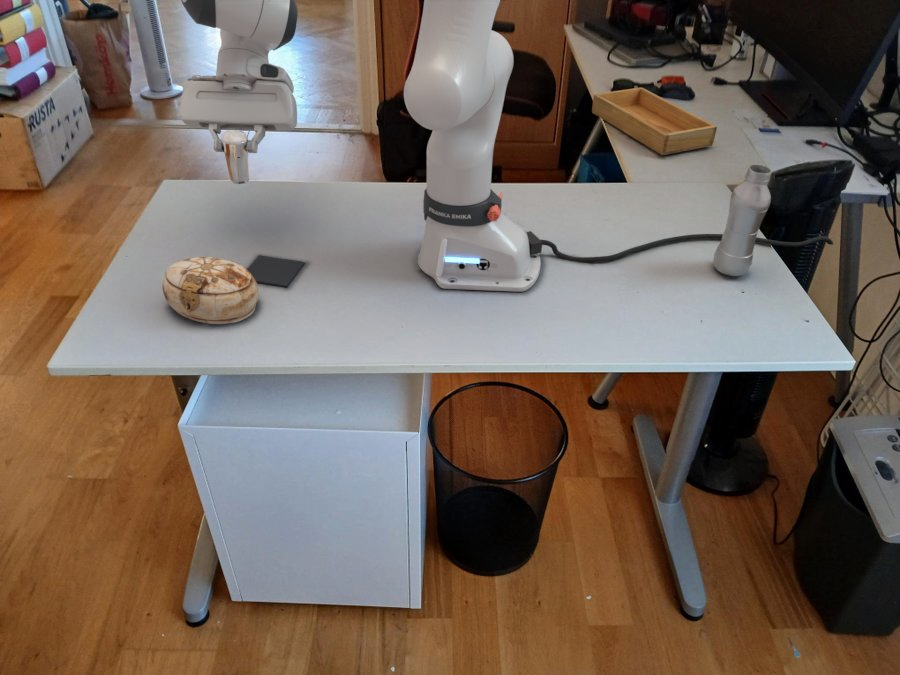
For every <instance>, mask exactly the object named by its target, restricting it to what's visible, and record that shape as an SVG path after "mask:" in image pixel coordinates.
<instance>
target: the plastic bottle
mask: <svg viewBox="0 0 900 675" xmlns="http://www.w3.org/2000/svg"><path fill="white" fill-rule="evenodd" d="M771 175H772V169H771V168H770V167H768V166H766V165H763V164H751V165H749V166H748V167H747V170H746V173H745V175H744V178H745V179H744V180H743V181H742V182H740V183H739V184H738V185H737V186H735V187H734V188H733V190H732V191H731V194H730V200H729V208H728V216H727V221H726V224H725V228H724V231H723V233H722V234H723V236H722V239H720V242H719V243H718V245H717V247H716V249H715V252H714V254H713V266H714V268H715V269H716V270H717V272H719V273H721V274H722V275H726V276H730V277H742V276H743V275H745V274H746V273H748V271H749V269H750V268H751V266H752V264H753V259H754V258H753V257H754V249H755V244H756V242H755V240H756V237H757V236H758V232H759V229H760V227H761V225H762V223H763V221H764V218H765V216H766V214H767V211H768V210H769V208H770V206H771V202H772V195H771V192H770V189H769V187H768V183H769V182H770V179H771Z"/></svg>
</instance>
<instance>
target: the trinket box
mask: <svg viewBox="0 0 900 675" xmlns="http://www.w3.org/2000/svg"><path fill="white" fill-rule="evenodd" d="M161 286H162V292H163V296H164V299H165V300H166V302H167V303H168V304H169V306H170V307H171V308H172V310H174V311H175V312H176V313H177V314H179V315H180V316H182V317H185V318H187V319H189V320H191V321H196V322H200V323H204V324H210V325H226V324H235V323H238V322H241V321H242V320H246V319H247V318H249V317H250V316H252V315H253V313H254V312H255V310H256V305H257V302H258V301H259V294H260V293H259V292H260V291H259V285H258V283H257V282H256V280H255V278H254V277H253V276H252V274H251V273H250V272H249V271H248V270H247V268H246V267H245V266H243V265H241V264H239V263H237V262H234V261H232V260H228V259H225V258H219V257H215V256H196V257H190V258H185V259H182V260H179V261H176V262H174V263H172V264H171V265H170V266H168V268H167V269H166V270H165V273H164V275H163V277H162V283H161Z"/></svg>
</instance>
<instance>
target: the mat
mask: <svg viewBox="0 0 900 675" xmlns="http://www.w3.org/2000/svg"><path fill="white" fill-rule="evenodd" d="M305 264H306V262H305V261H300V260H293V259H287V258H280V257H273V256H266V255H258V256H257V257H256V258H255V259H254V260H253V262H251V264H250V265H249V266H248V267H247V268H246V269H247V270H248V271H249V272H250V273H251V274H252V276H253V277H254V278H255V280H256V282H257V284H261V285H268V286H273V287H282V288H288V287H289V286H290V284H291V283H292V281H294V279H295V278H296V276H297V275H298V273H299V272H300V271H301V270H302V268H303V267H304V265H305Z"/></svg>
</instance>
